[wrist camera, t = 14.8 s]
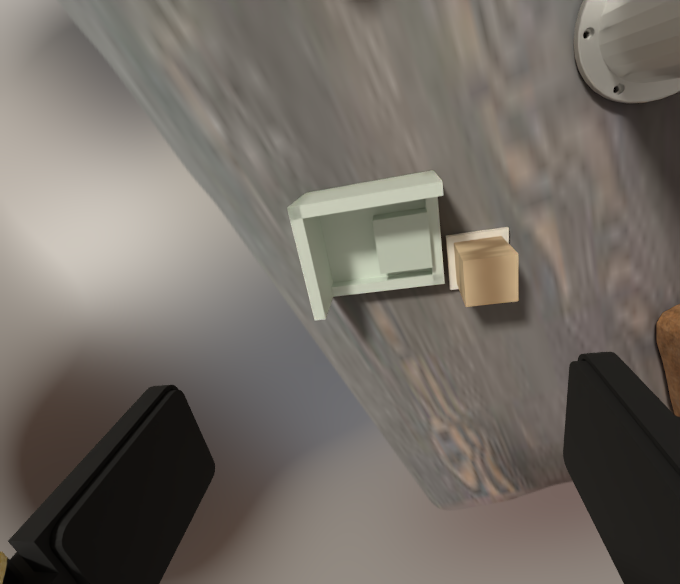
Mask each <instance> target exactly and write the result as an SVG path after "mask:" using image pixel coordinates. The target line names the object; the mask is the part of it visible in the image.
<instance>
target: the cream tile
mask: <svg viewBox="0 0 680 584" xmlns="http://www.w3.org/2000/svg"><path fill="white" fill-rule="evenodd" d="M496 236H502V237H503V238H504V239H505V240H506V241H507V242H508V243H509V228H508V227H502V228H495V229H488V230H481V231H474V232H467V233H460V234H453V235H446V248H447V261H448V274H449V287H450V290H455V289H459V288H458V286H457V281H456V268H455V254H454V243H455V242H462V241H469V240H475V239H482V238H489V237H496Z"/></svg>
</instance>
